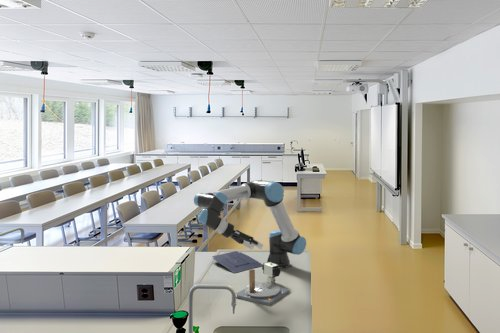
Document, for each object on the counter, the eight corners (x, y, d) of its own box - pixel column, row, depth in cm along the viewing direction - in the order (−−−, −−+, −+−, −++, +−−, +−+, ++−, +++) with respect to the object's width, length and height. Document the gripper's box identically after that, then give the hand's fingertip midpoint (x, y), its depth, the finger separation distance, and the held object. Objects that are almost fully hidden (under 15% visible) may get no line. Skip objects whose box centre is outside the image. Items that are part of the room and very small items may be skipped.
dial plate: (256, 284, 254) (256, 281, 254) (289, 291, 242) (289, 288, 242) (234, 297, 236) (234, 293, 236) (269, 305, 224) (269, 302, 224)
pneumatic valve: (274, 286, 251) (274, 265, 250) (262, 280, 260) (261, 261, 259) (282, 283, 255) (281, 263, 254) (269, 278, 264) (268, 259, 263)
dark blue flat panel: (238, 254, 313) (238, 249, 312) (264, 269, 289) (264, 264, 288) (209, 260, 298) (209, 255, 298) (233, 277, 275) (234, 271, 274)
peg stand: (260, 282, 252) (260, 259, 251) (286, 290, 239) (286, 266, 238) (237, 292, 238) (237, 267, 237) (263, 301, 225) (263, 274, 224)
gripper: (215, 235, 244) (246, 253, 248) (228, 233, 221) (262, 253, 225) (221, 224, 247) (252, 242, 251) (234, 220, 224) (269, 240, 228)
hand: (257, 247), depth 238 cm, fingers open, 13 cm apart
